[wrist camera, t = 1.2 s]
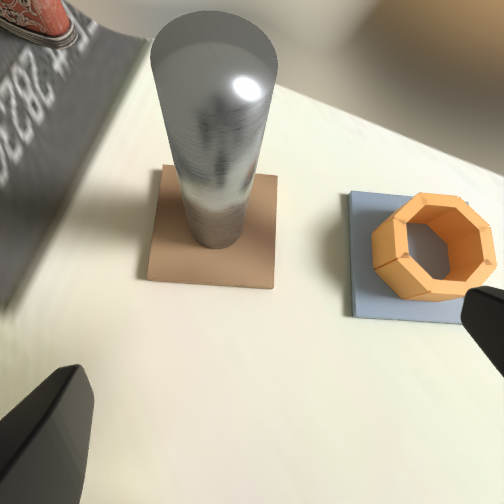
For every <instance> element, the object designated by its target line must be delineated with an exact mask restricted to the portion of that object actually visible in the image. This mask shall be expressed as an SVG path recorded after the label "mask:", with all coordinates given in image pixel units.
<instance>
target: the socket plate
mask: <svg viewBox="0 0 504 504" xmlns="http://www.w3.org/2000/svg"><path fill="white" fill-rule="evenodd" d="M348 195H349V223H350V252H351V281H352V310H353V317H357V318H373V319H388V320H404V321H420V322H435V323H451V324H462V323H461V320H460V314H461V310H462V306H463V301H464V297H465V294H466V292H467V290H468V289H470V288H474V287H479V286H481V285H482V284H483V283H484V282H485V281H486V279H487V278H488V277H489V276H490V275H491V274H492V273H493V271H494V270H495V269H496V267H495V266H497V262H496V256H495V250H494V244H493V238H492V232H491V227H488V226H489V224H488V223H487V222H486V221H485V220H484V219H482V218H481V217H480V216H479V215H478V214H477V213H476V212H475V211H474V210H473V209H472V208H471V207H470V206H469V204H468V202H464V201H463V200H462V199H461V198H460V197H459V198H458V196H451V195H441V194H431V193H421V192H420V193H418V194H417V195H415V196H414V197H411V196H401V195H391V194H381V193H370V192H360V191H351V192H350V193H349V194H348Z"/></svg>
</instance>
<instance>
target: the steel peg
mask: <svg viewBox="0 0 504 504" xmlns="http://www.w3.org/2000/svg"><path fill="white" fill-rule="evenodd" d="M150 61H151V67H152V72H153V76H154V80H155V84H156V89H157V93H158V97H159V101H160V106H161V110H162V114H163V118H164V123H165V127H166V131H167V135H168V140H169V144H170V148H171V152H172V157H173V161H174V165H175V169H176V174H177V178H178V182H179V186H180V191H181V195H182V199H183V203H184V208H185V212H186V216H187V220H188V225H189V229H190V232H191V235H192V236H193V238H194V239H195V240H196V241H197V242H198V243H199V244H200V245H202V246H204V247H206V248H209V249H223V248H227V247H229V246H231V245H232V244H234V243H235V242H236V241H237V240H238V239H239V237H240V236H241V233H242V230H243V226H244V222H245V217H246V213H247V208H248V203H249V199H250V194H251V190H252V185H253V181H254V176H255V171H256V167H257V162H258V158H259V153H260V149H261V144H262V140H263V135H264V130H265V126H266V121H267V117H268V112H269V108H270V103H271V98H272V94H273V89H274V85H275V80H276V76H277V69H278V62H277V61H278V60H277V56H276V52H275V49H274V47H273V45H272V43H271V42H270V40H269V39H268V37H267V36H266V35H265V34H264V33H263V32H262V31H261V30H260V29H259V28H258V27H257V26H255V25H254V24H252V23H251V22H249V21H247V20H246V19H243V18H241V17H239V16H236V15H233V14H229V13H225V12H220V11H199V12H193V13H189V14H186V15H183V16H181V17H178V18H176V19H174V20H173V21H171V22H170V23H168V24H167V25H166V26H165V27H164V28H163V29H162V30H161V31H160V32H159V34H158V35H157V36H156V38H155V40H154V42H153V45H152V48H151V55H150Z"/></svg>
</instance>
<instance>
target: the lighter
mask: <svg viewBox="0 0 504 504" xmlns="http://www.w3.org/2000/svg"><path fill="white" fill-rule="evenodd" d="M0 25H1V26H2V27H4V28H6V29H7V30H9V31H11V32H12V33H14V34H16V35H18V36H20V37H23V38H25V39H27V40H30V41H32V42H34V43H37V44H40V45H44V46H47V47H50V48H53V49H64V48H67V47H69V46H71V45H72V44H73V43H74V42H75V41H76V39H77V35H78V34H77V30H76V28H75V26H74V24H73V21H72V20H71V18H70V17H69V16H67V14H66V12H65V10H64V8H63V5H62V3H61V1H60V0H0Z"/></svg>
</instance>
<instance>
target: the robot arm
mask: <svg viewBox="0 0 504 504" xmlns="http://www.w3.org/2000/svg"><path fill="white" fill-rule="evenodd" d="M460 320H461V323H462V325H463V326H464V328H465V329H466V330H467V332H468V333H469V334H470V335H471V337H472V338H473V339H474V341H475V342H476V343H477V344H478V346H479V347H480V348H481V349H482V351H483V352H484V353H485V355H486V356H487V357H488V358H489V360H490V361H491V362H492V364H493V365H494V366H495V367H496V369H497V370H498V371H499V372H500V374H501V375H502V376H503V377H504V290H502V289H498V288H494V287H490V286H479V287H474V288H470V289H468V290H467V292H466V294H465V297H464V301H463V306H462V310H461V314H460ZM93 408H94V394H93V391H92V388H91V386H90V383H89V380H88V378H87V375H86V373H85V370H84V368H83V367H82V366H81V365H79V364H75V365H70V366H64V367H60V368H58V369H57V370H55V371H54V372H53V373H52V374H51V375H50V376H49V377H48V378H46V379H45V380H44V381H43V382H42V383H41V384H40V385H39V386H38V387H37V388H35V389H34V390H33V391H32V392H31V393H30V394H29V395H28V396H27V397H26V398H24V399H23V400H22V401H21V402H20V403H19V404H18V405H17V406H16V407H14V408H13V409H12V410H11V411H10V412H9V413H8V414H7V415H6V416H5V417H3V418H2V419H1V420H0V504H79V503H80V498H81V494H82V489H83V484H84V479H85V472H86V465H87V457H88V449H89V441H90V433H91V424H92V416H93Z"/></svg>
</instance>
